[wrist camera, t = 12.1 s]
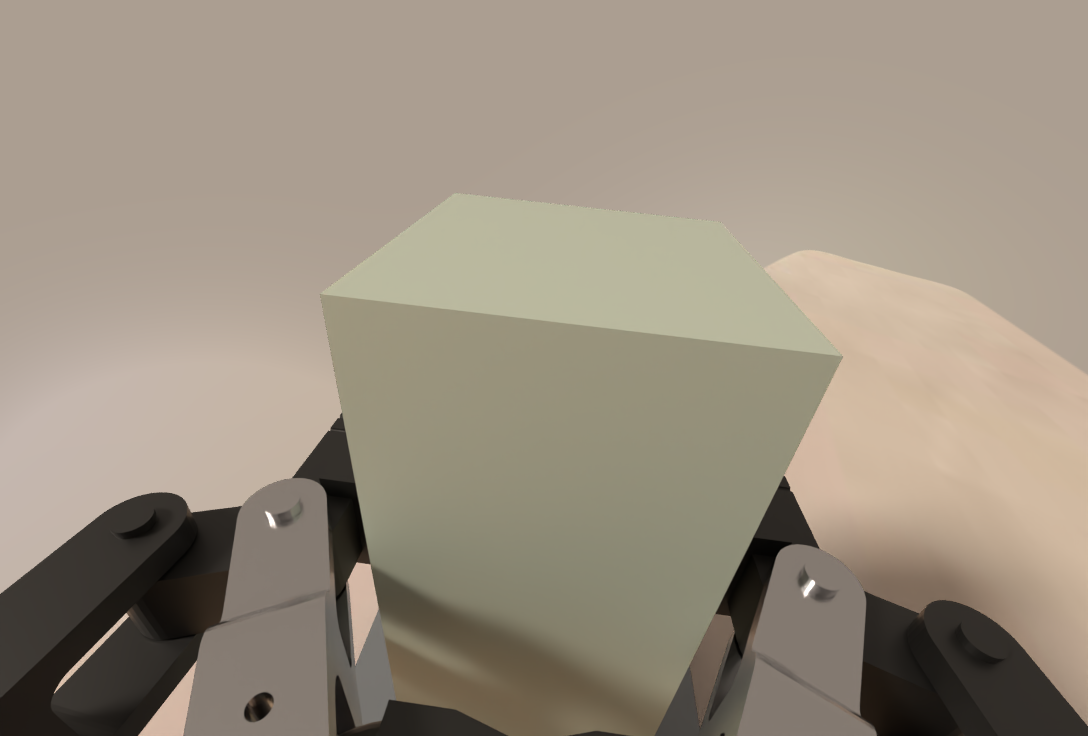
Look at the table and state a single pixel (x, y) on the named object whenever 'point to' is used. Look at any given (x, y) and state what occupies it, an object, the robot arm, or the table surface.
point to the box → (563, 449)
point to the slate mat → (378, 689)
